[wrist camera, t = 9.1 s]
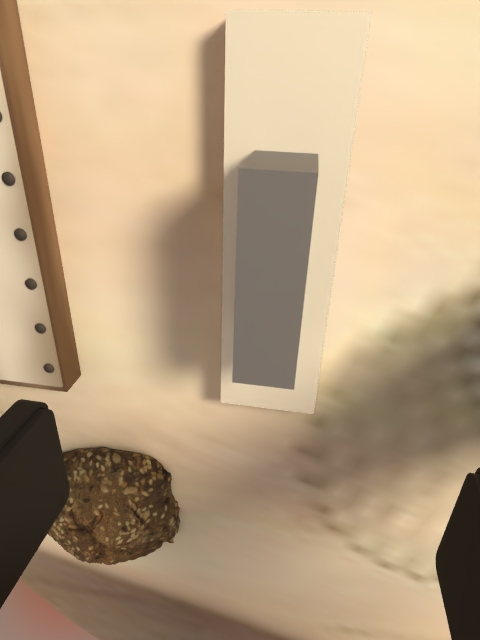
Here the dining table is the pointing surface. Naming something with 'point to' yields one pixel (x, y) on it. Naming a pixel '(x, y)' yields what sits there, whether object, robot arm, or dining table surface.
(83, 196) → the dining table surface
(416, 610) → the dining table surface
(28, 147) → the light wooden flat board
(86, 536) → the bread roll
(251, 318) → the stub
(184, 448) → the dining table surface
